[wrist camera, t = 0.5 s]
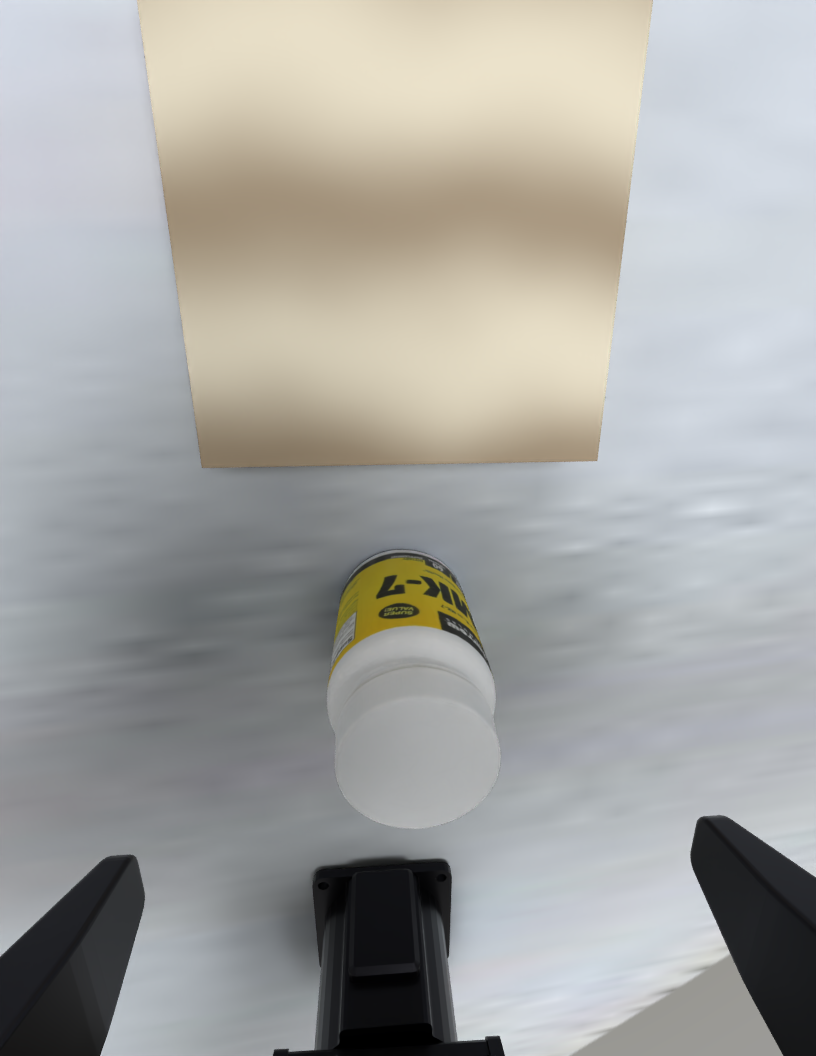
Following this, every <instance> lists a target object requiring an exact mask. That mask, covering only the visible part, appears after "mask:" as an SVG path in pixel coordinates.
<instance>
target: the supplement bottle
mask: <svg viewBox="0 0 816 1056" xmlns="http://www.w3.org/2000/svg"><path fill="white" fill-rule="evenodd" d="M495 705H496V691H495V684H494V679H493V675H492V672H491V669H490V666H489V663H488V660H487V658H486V655H485V653H484V650H483V647H482V644H481V642H480V639H479V636H478V633H477V630H476V627H475V625H474V622H473V619H472V616H471V613H470V611H469V608H468V605H467V602H466V600H465V596H464V594H463V591H462V589H461V586H460V584H459V582H458V580H457V578H456V577H455V575H454V574H453V573H452V571H451V570H450V569H449V568H448V567H447V566H446V565H445V564H444V563H442V562H441V561H440V560H438V559H437V558H435V557H433V556H431V555H428V554H425V553H422V552H418V551H413V550H391V551H386V552H382V553H379V554H377V555H375V556H373V557H371V558H369V559H367V560H366V561H364V562H363V563H362V564H361V565H359V566H358V567H357V568H356V569H355V570H354V571H353V573H352V574H351V575H350V577H349V578H348V580H347V582H346V584H345V586H344V588H343V591H342V594H341V598H340V606H339V612H338V618H337V625H336V632H335V639H334V646H333V652H332V660H331V666H330V674H329V680H328V688H327V711H328V716H329V720H330V723H331V726H332V729H333V731H334V733H335V742H336V746H335V775H336V779H337V782H338V786H339V788H340V790H341V792H342V794H343V795H344V797H345V798H346V800H347V801H348V802H349V803H350V804H351V805H352V806H353V808H355V809H356V810H357V811H358V812H360V813H361V814H362V815H364V816H366V817H368V818H369V819H371V820H373V821H375V822H378V823H381V824H384V825H388V826H392V827H396V828H404V829H422V828H429V827H434V826H439V825H442V824H445V823H448V822H451V821H453V820H456V819H458V818H460V817H462V816H464V815H465V814H467V813H468V812H470V811H471V810H473V809H474V808H475V807H476V806H477V805H478V804H480V803H481V802H482V801H483V800H484V799H485V797H486V796H487V795H488V794H489V792H490V791H491V789H492V788H493V786H494V784H495V782H496V780H497V777H498V774H499V770H500V764H501V752H500V745H499V741H498V737H497V733H496V728H495V724H494V717H493V716H494V711H495Z"/></svg>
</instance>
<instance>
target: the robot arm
mask: <svg viewBox="0 0 816 1056" xmlns="http://www.w3.org/2000/svg"><path fill="white" fill-rule="evenodd" d="M690 856H691V864H692V867H693V870H694V873H695V875H696V877H697V880H698V882H699V884H700V886H701V889H702V891H703V893H704V895H705V898H706V900H707V902H708V904H709V907H710V909H711V911H712V913H713V916H714V918H715V920H716V922H717V925H718V927H719V929H720V931H721V934H722V936H723V938H724V940H725V943H726V945H727V947H728V949H729V952H730V954H731V956H732V958H733V961H734V963H735V965H736V966H737V969H738V971H739V973H740V975H741V977H742V980H743V981H744V983H745V985H746V987H747V989H748V991H749V993H750V995H751V997H752V999H753V1001H754V1002H755V1004H756V1006H757V1008H758V1010H759V1012H760V1014H761V1015H762V1017H763V1019H764V1021H765V1023H766V1024H767V1026H768V1028H769V1030H770V1032H771V1034H772V1036H773V1037H774V1039H775V1041H776V1043H777V1045H778V1046H779V1048H780V1050H781V1052H782V1054H783V1056H816V877H814V876H813V875H811V874H810V873H808V872H807V871H806V870H804V869H803V868H801V867H800V866H798V865H797V864H795V863H794V862H792V861H791V860H790V859H788V858H787V857H785V856H784V855H782V854H781V853H779V852H778V851H776V850H775V849H774V848H772V847H771V846H769V845H768V844H766V843H765V842H763V841H762V840H760V839H759V838H758V837H756V836H755V835H753V834H752V833H750V832H749V831H747V830H746V829H744V828H743V827H742V826H740V825H739V824H737V823H736V822H734V821H733V820H731V819H730V818H728V817H726V816H722V815H717V816H703V817H700V818H699V819H698V821H697V823H696V828H695V833H694V838H693V843H692V848H691V854H690ZM451 883H452V876H451V869H450V866H449V865H448V864H446V863H443V862H437V863H422V864H406V865H391V866H376V867H361V868H345V869H330V870H321V871H318V872H316V873H315V875H314V878H313V897H314V908H315V919H316V930H317V941H318V952H319V963H320V967H321V975H320V987H319V1000H318V1012H317V1025H316V1037H315V1049H314V1050H312V1051H296V1052H289V1049H275V1050H274V1054H273V1056H505V1055H504V1051H503V1047H502V1043H501V1039H500V1036H486V1037H485V1040H472V1041H457V1033H456V1024H455V1016H454V1008H453V1000H452V992H451V984H450V976H449V968H448V960H447V958H448V956H449V940H450V912H451ZM144 901H145V893H144V887H143V883H142V878H141V874H140V869H139V865H138V861H137V858H136V857H135V856H134V855H117V856H109V857H106V858H105V859H103V860H102V861H101V862H100V863H99V864H98V865H96V866H95V867H94V868H93V869H92V870H91V871H90V872H89V873H88V874H87V875H86V876H85V877H84V878H83V879H82V880H81V881H80V882H79V883H78V884H76V885H75V886H74V887H73V888H72V889H71V890H70V891H69V892H68V893H67V894H66V895H65V896H64V897H63V898H62V899H61V900H60V901H59V902H57V903H56V904H55V905H54V906H53V907H52V908H51V909H50V910H49V911H48V912H47V913H46V914H45V915H44V916H43V917H42V918H41V919H40V920H39V921H37V922H36V923H35V924H34V925H33V926H32V927H31V928H30V929H29V930H28V931H27V932H26V933H25V934H24V935H23V936H22V937H21V938H20V939H18V940H17V941H16V942H15V943H14V944H13V945H12V946H11V947H10V948H9V949H8V950H7V951H6V952H5V953H4V954H3V955H2V956H1V957H0V1056H100V1054H101V1051H102V1049H103V1046H104V1043H105V1040H106V1037H107V1034H108V1031H109V1028H110V1025H111V1021H112V1018H113V1015H114V1011H115V1008H116V1004H117V1001H118V997H119V994H120V990H121V987H122V983H123V979H124V976H125V972H126V969H127V965H128V962H129V958H130V955H131V951H132V948H133V944H134V941H135V937H136V934H137V930H138V927H139V923H140V920H141V916H142V912H143V908H144Z"/></svg>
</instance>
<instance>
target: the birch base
mask: <svg viewBox="0 0 816 1056" xmlns="http://www.w3.org/2000/svg"><path fill="white" fill-rule="evenodd" d="M137 4H138V11H139V18H140V25H141V32H142V40H143V47H144V54H145V61H146V68H147V76H148V83H149V90H150V97H151V105H152V112H153V119H154V126H155V133H156V141H157V148H158V155H159V162H160V169H161V177H162V184H163V191H164V198H165V205H166V213H167V220H168V227H169V234H170V241H171V249H172V256H173V263H174V270H175V278H176V285H177V292H178V299H179V306H180V314H181V321H182V328H183V335H184V342H185V350H186V357H187V364H188V371H189V378H190V386H191V393H192V400H193V407H194V415H195V422H196V429H197V436H198V443H199V451H200V458H201V465H202V468H225V467H283V466H340V465H397V464H455V463H512V462H570V461H597V458H598V450H599V442H600V433H601V425H602V417H603V409H604V400H605V392H606V384H607V376H608V367H609V359H610V351H611V343H612V334H613V326H614V318H615V310H616V301H617V293H618V285H619V276H620V268H621V260H622V252H623V243H624V235H625V227H626V219H627V210H628V202H629V194H630V186H631V177H632V169H633V161H634V153H635V144H636V136H637V128H638V120H639V111H640V103H641V95H642V87H643V78H644V70H645V62H646V54H647V45H648V37H649V29H650V21H651V12H652V4H653V0H137Z"/></svg>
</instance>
